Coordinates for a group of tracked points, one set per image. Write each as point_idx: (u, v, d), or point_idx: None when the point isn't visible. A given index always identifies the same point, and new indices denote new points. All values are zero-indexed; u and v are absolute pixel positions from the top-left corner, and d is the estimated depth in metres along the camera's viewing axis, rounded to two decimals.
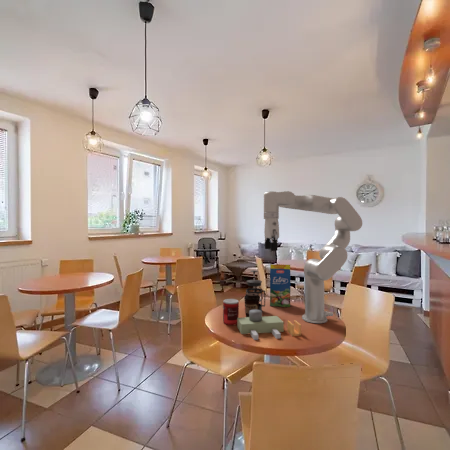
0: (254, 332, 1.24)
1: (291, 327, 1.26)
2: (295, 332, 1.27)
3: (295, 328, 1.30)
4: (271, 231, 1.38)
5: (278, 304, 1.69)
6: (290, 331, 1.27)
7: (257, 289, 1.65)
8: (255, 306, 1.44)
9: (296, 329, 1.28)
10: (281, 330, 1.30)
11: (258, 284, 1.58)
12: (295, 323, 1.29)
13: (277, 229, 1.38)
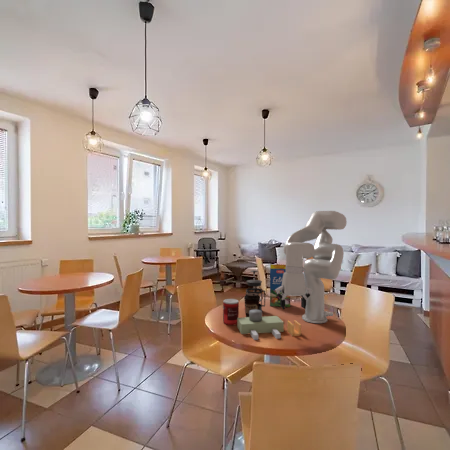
0: (254, 332, 1.24)
1: (291, 327, 1.26)
2: (295, 332, 1.27)
3: (295, 328, 1.30)
4: None
5: (278, 304, 1.69)
6: (290, 331, 1.27)
7: (257, 289, 1.65)
8: (255, 306, 1.44)
9: (296, 329, 1.28)
10: (281, 330, 1.30)
11: (258, 284, 1.58)
12: (295, 323, 1.29)
13: None
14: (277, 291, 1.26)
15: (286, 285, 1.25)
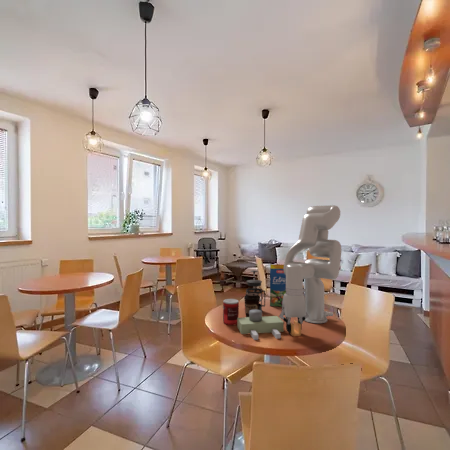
0: (254, 332, 1.24)
1: (291, 327, 1.26)
2: (295, 332, 1.27)
3: (295, 328, 1.30)
4: (305, 309, 1.27)
5: (278, 304, 1.69)
6: None
7: (257, 289, 1.65)
8: (255, 306, 1.44)
9: (296, 329, 1.28)
10: (281, 330, 1.30)
11: (258, 284, 1.58)
12: (295, 323, 1.29)
13: None
14: (281, 317, 1.26)
15: (286, 307, 1.25)
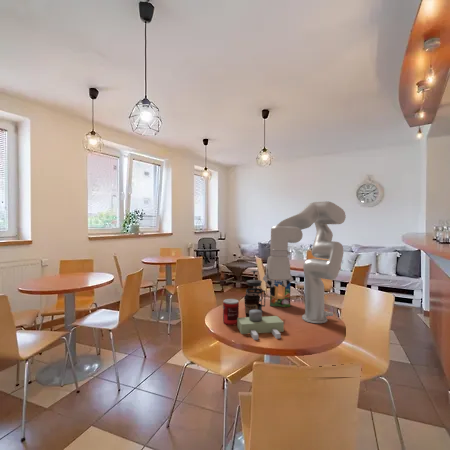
0: (254, 332, 1.24)
1: (275, 289, 1.22)
2: (279, 295, 1.23)
3: (279, 292, 1.26)
4: None
5: (278, 304, 1.69)
6: None
7: (257, 289, 1.65)
8: (255, 306, 1.44)
9: (280, 293, 1.25)
10: (281, 330, 1.30)
11: (258, 284, 1.58)
12: (279, 287, 1.26)
13: None
14: (265, 279, 1.23)
15: (270, 269, 1.22)
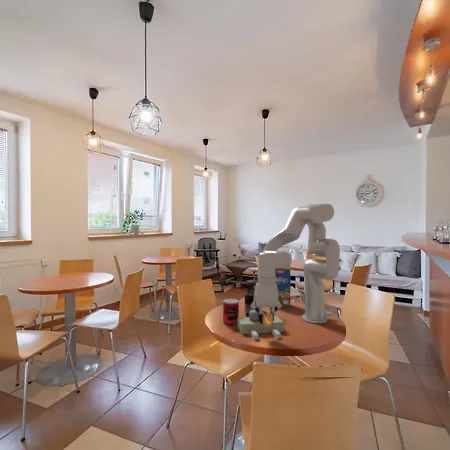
0: (254, 332, 1.24)
1: (263, 317, 1.20)
2: (267, 322, 1.21)
3: (267, 319, 1.24)
4: None
5: None
6: None
7: None
8: (255, 306, 1.44)
9: (268, 319, 1.23)
10: (281, 330, 1.30)
11: None
12: (268, 313, 1.24)
13: None
14: (253, 307, 1.21)
15: (258, 296, 1.20)
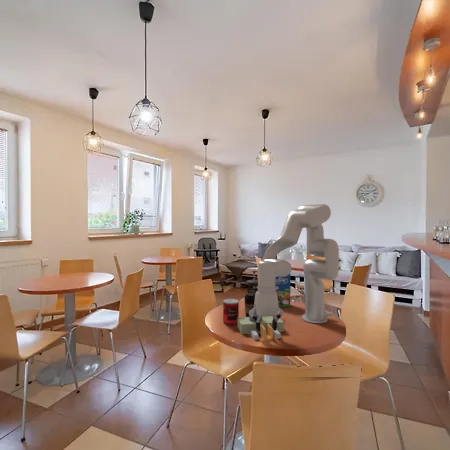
0: (254, 332, 1.24)
1: (263, 331, 1.21)
2: (267, 336, 1.22)
3: (268, 332, 1.25)
4: None
5: (278, 304, 1.69)
6: (262, 335, 1.22)
7: (257, 289, 1.65)
8: None
9: (269, 333, 1.23)
10: (281, 330, 1.30)
11: None
12: (268, 327, 1.24)
13: None
14: (251, 314, 1.21)
15: (258, 305, 1.20)
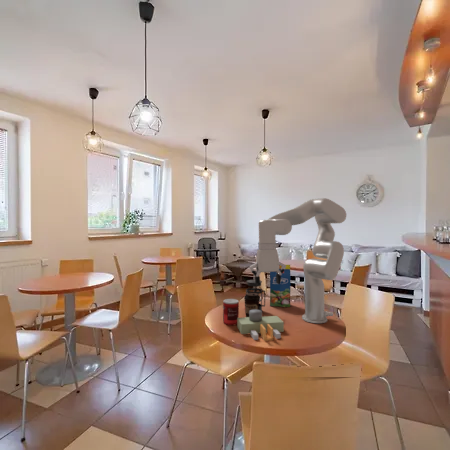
0: (254, 332, 1.24)
1: (263, 331, 1.21)
2: (267, 336, 1.22)
3: (268, 332, 1.25)
4: (279, 263, 1.28)
5: (278, 304, 1.69)
6: (262, 335, 1.22)
7: (257, 289, 1.65)
8: (255, 306, 1.44)
9: (269, 333, 1.23)
10: (281, 330, 1.30)
11: None
12: (268, 327, 1.24)
13: None
14: (251, 268, 1.26)
15: (260, 262, 1.26)
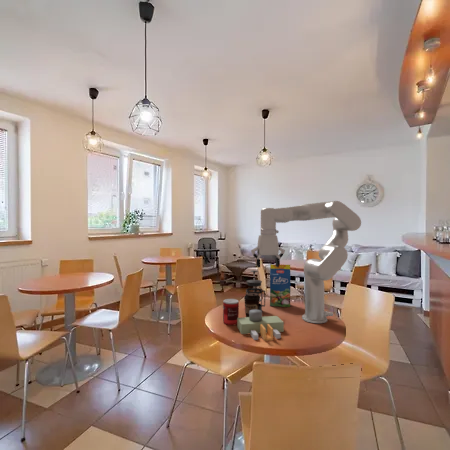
0: (254, 332, 1.24)
1: (263, 331, 1.21)
2: (267, 336, 1.22)
3: (268, 332, 1.25)
4: None
5: (278, 304, 1.69)
6: (262, 335, 1.22)
7: (257, 289, 1.65)
8: (255, 306, 1.44)
9: (269, 333, 1.23)
10: (281, 330, 1.30)
11: (258, 284, 1.58)
12: (268, 327, 1.24)
13: None
14: (253, 251, 1.39)
15: (261, 246, 1.38)
